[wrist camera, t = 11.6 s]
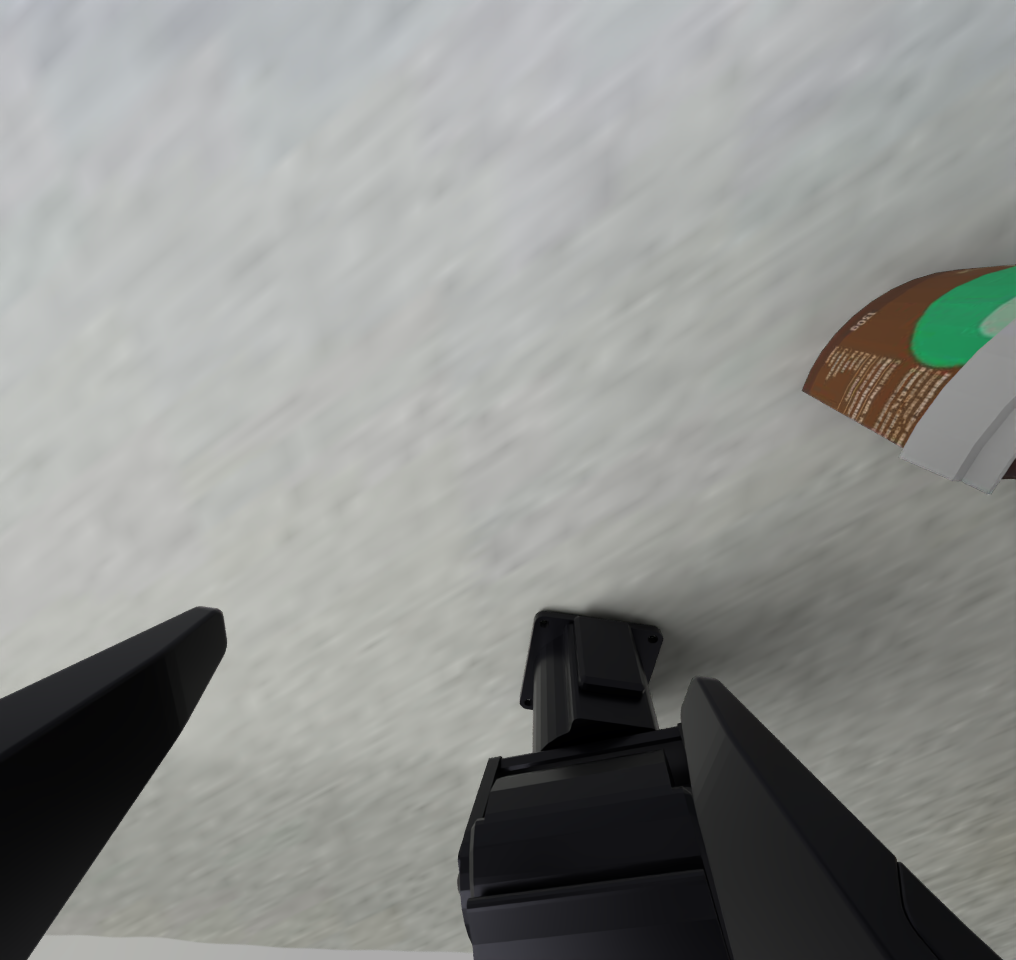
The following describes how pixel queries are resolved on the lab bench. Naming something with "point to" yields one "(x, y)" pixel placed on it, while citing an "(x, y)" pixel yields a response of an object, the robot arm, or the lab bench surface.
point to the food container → (933, 373)
